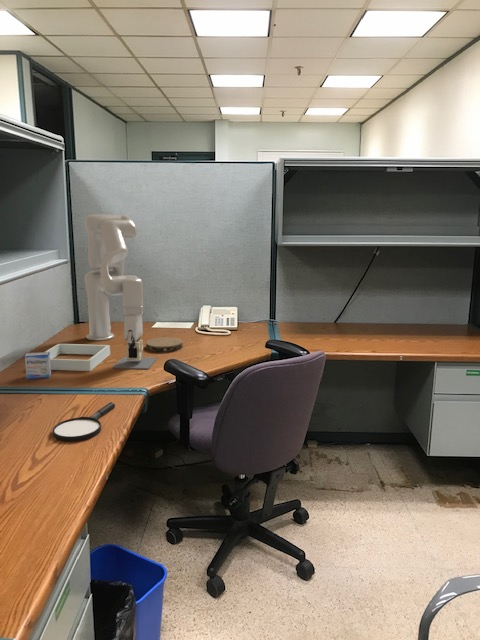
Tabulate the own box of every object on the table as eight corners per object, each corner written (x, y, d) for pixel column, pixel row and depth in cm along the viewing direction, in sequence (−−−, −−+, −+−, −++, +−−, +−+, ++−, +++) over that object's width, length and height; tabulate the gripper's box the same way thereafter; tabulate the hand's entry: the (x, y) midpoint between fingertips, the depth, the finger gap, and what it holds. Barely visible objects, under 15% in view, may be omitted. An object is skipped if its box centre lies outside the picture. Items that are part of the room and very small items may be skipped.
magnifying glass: (130, 411, 148) (130, 404, 147) (84, 446, 125) (83, 438, 125) (94, 406, 151) (94, 399, 151) (42, 439, 129) (42, 432, 128)
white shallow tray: (59, 352, 206) (58, 343, 205) (110, 354, 204) (109, 345, 204) (33, 369, 185) (32, 358, 184) (90, 371, 183) (89, 360, 182)
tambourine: (187, 345, 221) (187, 338, 221) (174, 354, 206) (173, 347, 206) (155, 342, 225) (155, 336, 225) (139, 351, 210) (139, 344, 210)
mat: (123, 357, 200) (123, 356, 200) (157, 358, 199) (157, 357, 199) (112, 368, 186) (112, 367, 186) (148, 369, 185) (148, 368, 185)
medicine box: (26, 379, 173) (24, 356, 171) (28, 375, 178) (26, 352, 176) (50, 377, 175) (48, 354, 174) (51, 373, 180) (49, 351, 178)
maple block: (130, 356, 195) (130, 339, 193) (143, 356, 195) (142, 339, 193) (127, 359, 190) (126, 342, 189) (139, 360, 190) (139, 342, 188)
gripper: (130, 305, 197) (132, 349, 201) (116, 314, 180) (118, 361, 184) (148, 306, 196) (150, 350, 200) (136, 315, 180) (138, 362, 184)
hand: (135, 355), depth 192 cm, fingers closed on maple block, 5 cm apart
